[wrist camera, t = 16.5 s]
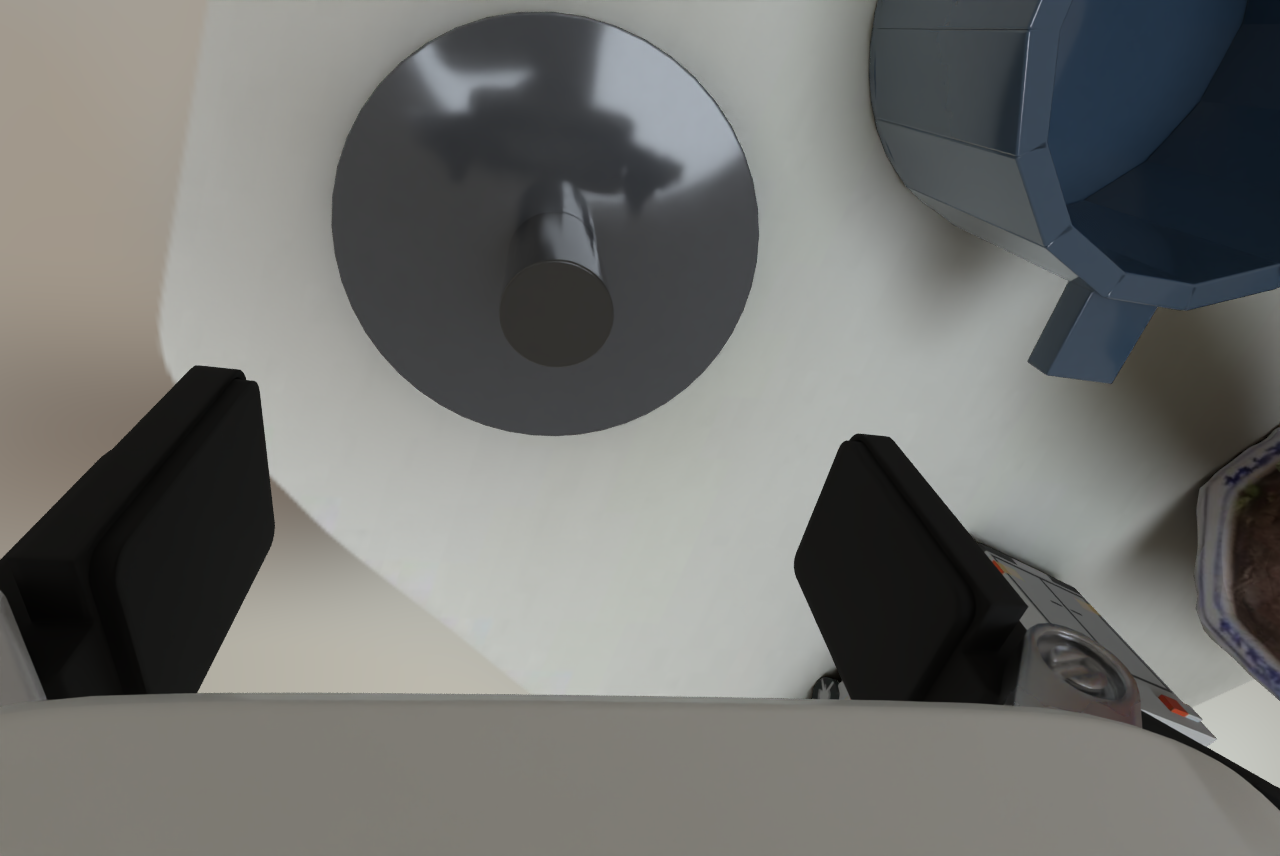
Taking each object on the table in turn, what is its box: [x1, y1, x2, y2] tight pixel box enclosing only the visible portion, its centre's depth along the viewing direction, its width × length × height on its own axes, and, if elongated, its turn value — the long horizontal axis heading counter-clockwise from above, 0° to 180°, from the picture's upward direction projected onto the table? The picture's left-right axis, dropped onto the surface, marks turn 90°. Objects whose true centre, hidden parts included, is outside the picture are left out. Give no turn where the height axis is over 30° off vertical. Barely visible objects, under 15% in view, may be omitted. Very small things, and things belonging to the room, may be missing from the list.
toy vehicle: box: [812, 543, 1217, 747], centre depth 35 cm, size 10×17×10 cm, turn 149°
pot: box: [869, 0, 1280, 384], centre depth 19 cm, size 14×19×8 cm
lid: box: [332, 12, 759, 436], centre depth 21 cm, size 15×15×7 cm
